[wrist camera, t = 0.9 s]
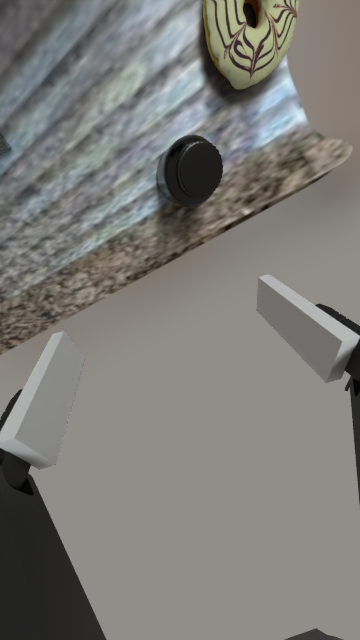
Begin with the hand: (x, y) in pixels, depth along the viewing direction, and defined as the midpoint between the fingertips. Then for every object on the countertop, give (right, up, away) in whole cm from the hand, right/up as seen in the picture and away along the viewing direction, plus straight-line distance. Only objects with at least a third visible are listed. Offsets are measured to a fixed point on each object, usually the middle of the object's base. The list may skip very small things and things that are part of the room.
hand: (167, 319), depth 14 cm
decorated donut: (+8, +35, +10) cm, 37 cm away
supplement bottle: (+1, +22, +17) cm, 27 cm away
